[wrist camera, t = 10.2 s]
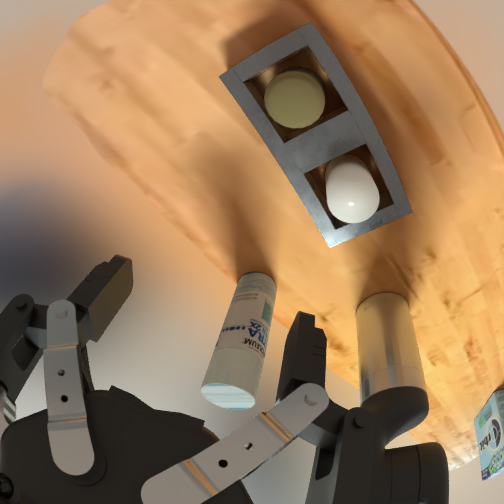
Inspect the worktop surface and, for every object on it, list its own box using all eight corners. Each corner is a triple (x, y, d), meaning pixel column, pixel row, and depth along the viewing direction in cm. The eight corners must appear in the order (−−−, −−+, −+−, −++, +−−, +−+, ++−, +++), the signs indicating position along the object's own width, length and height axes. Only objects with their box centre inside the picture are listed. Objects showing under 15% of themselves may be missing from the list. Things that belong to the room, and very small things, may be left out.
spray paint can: (283, 298, 49) (263, 409, 33) (246, 304, 51) (216, 409, 35) (269, 266, 46) (241, 382, 30) (230, 275, 48) (190, 383, 32)
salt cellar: (376, 185, 36) (387, 210, 30) (337, 203, 38) (341, 230, 33) (357, 147, 34) (366, 165, 28) (317, 167, 36) (317, 188, 30)
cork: (306, 58, 29) (303, 53, 20) (335, 101, 31) (345, 114, 22) (262, 84, 31) (241, 91, 23) (291, 125, 34) (283, 149, 25)
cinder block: (404, 198, 36) (412, 212, 32) (328, 231, 41) (329, 247, 37) (311, 26, 26) (311, 21, 23) (228, 75, 31) (218, 76, 28)
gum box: (493, 391, 56) (507, 462, 38) (507, 387, 55) (522, 456, 36) (473, 420, 66) (480, 481, 48) (485, 417, 65) (494, 476, 46)
